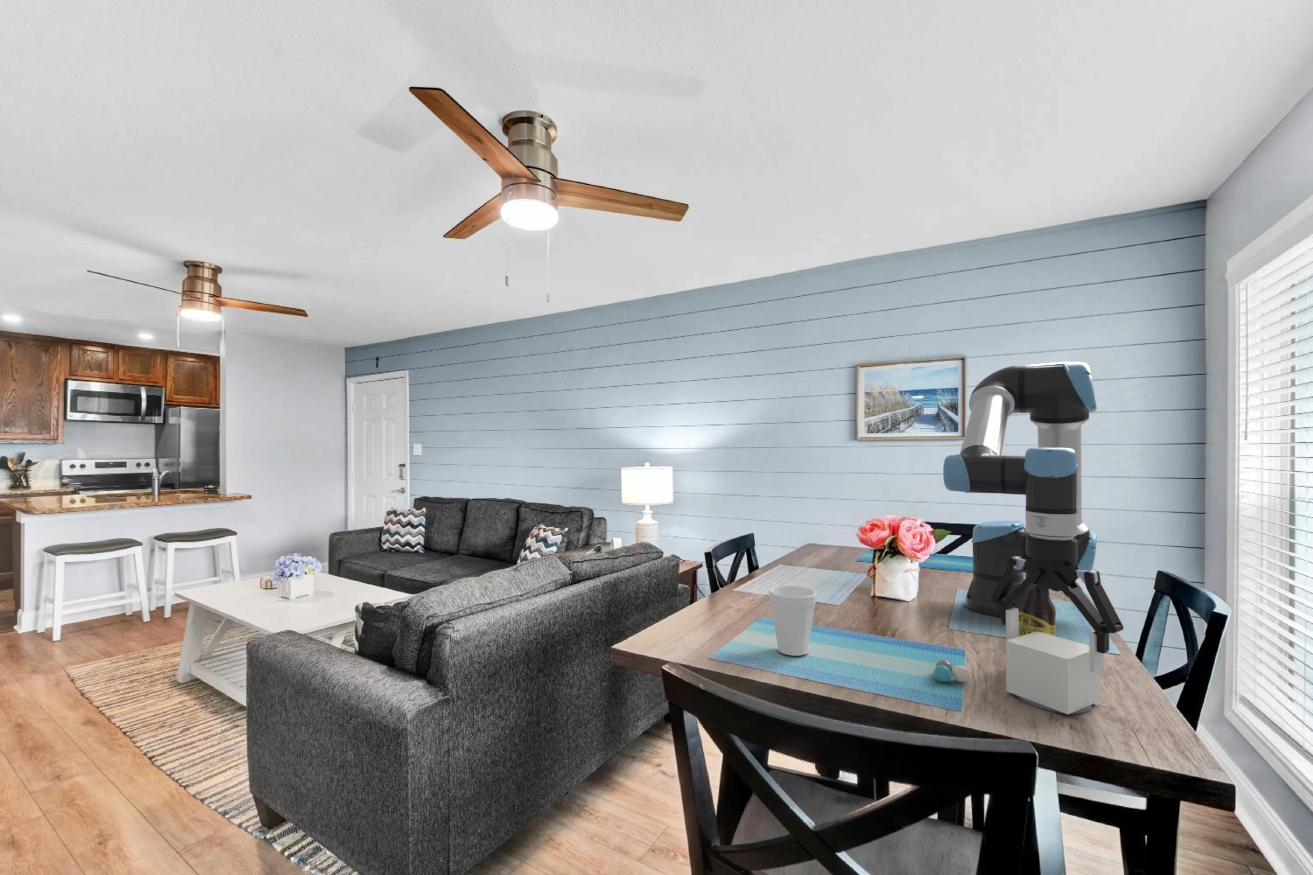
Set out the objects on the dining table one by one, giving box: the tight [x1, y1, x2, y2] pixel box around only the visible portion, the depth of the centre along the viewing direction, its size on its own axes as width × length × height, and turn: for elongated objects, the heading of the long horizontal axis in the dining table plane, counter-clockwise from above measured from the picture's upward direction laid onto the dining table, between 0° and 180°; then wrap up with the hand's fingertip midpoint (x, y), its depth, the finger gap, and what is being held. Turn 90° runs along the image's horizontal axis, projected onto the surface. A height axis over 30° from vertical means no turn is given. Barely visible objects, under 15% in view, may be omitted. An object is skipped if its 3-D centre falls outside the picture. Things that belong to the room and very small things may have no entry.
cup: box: [768, 584, 817, 657], centre depth 124 cm, size 10×10×13 cm
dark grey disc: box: [1015, 695, 1093, 715], centre depth 101 cm, size 11×11×1 cm
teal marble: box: [933, 665, 953, 683], centre depth 108 cm, size 3×3×3 cm
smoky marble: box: [935, 658, 954, 674], centre depth 111 cm, size 3×3×3 cm
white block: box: [1005, 631, 1101, 715], centre depth 101 cm, size 10×10×9 cm
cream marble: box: [951, 664, 970, 683], centre depth 108 cm, size 3×3×3 cm
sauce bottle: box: [1018, 570, 1057, 637], centre depth 112 cm, size 6×6×20 cm
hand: (1051, 656), depth 101 cm, fingers open, 13 cm apart
